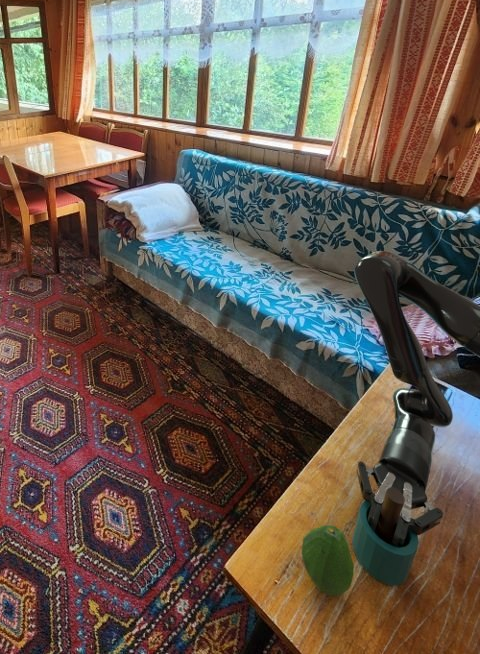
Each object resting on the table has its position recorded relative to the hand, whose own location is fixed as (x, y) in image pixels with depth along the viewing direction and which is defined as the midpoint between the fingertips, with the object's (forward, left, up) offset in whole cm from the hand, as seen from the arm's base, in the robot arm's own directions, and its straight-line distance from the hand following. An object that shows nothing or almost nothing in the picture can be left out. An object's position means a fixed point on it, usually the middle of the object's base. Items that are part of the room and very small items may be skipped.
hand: (384, 533), depth 63 cm
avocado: (+9, +3, -11) cm, 14 cm away
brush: (-2, -3, -9) cm, 10 cm away
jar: (-2, -2, -10) cm, 11 cm away
